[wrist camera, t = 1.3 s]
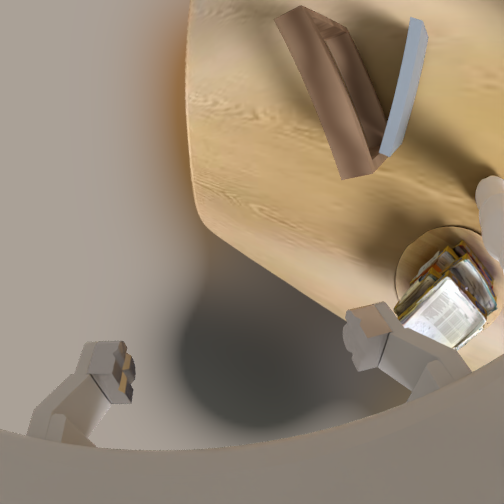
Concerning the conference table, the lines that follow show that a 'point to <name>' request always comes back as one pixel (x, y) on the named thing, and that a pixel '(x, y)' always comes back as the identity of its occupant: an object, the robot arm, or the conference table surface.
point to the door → (405, 87)
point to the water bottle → (492, 215)
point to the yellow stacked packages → (448, 286)
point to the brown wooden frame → (337, 89)
